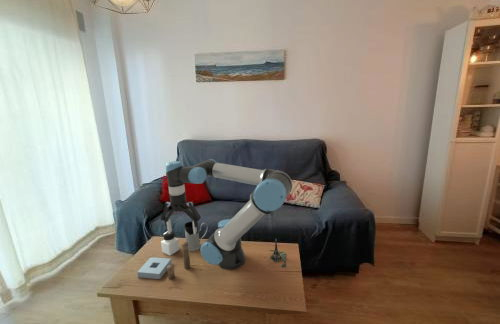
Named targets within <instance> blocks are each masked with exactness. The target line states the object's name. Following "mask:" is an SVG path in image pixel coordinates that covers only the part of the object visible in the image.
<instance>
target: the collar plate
mask: <svg viewBox="0 0 500 324" xmlns="http://www.w3.org/2000/svg"><path fill="white" fill-rule="evenodd" d="M168 265H173V264H172V259H171V258H167V257H166V258H165V257H149V258H148V260H147V261H146V262H145V263H143V265H142V266H141V267H140V269H138V270H137V271H136V272H137V277H138V278H145V279H153V280H154V279H155V280H161V279H162V277H163V276H164V275H165V273H166V272H167V266H168Z"/></svg>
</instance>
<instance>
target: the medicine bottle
mask: <svg viewBox="0 0 500 324" xmlns="http://www.w3.org/2000/svg"><path fill="white" fill-rule="evenodd" d="M162 235H163V240H161V241H160V244H161V246H160V247H161V252H162V253H163V254H166V255H168V256H172V255H174V254H175V253H176V252H178V251H180V242H179V239H178V238H176V237H175V235H176V234H175V232H174V231H173V230H172V231H171V233H170V234H168V230H167V231H166V232H164V233H163V234H162Z"/></svg>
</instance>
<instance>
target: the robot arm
mask: <svg viewBox="0 0 500 324" xmlns="http://www.w3.org/2000/svg"><path fill="white" fill-rule="evenodd" d="M165 173H166V180H167V186H168V194H169V201H166V202H165V203H164V208H163V212H162V214H161V217H160V220H161V221H164V224H165V228H166V229H167V231H168V234H170V233H171V231H173V229H172V223H171V219H170V217H171V216H172V215H173V213H174V212H180V213H181V212H183V213H185V214H186V215H187V216H188V217H189V218H190V219H191V221H193V222H192V224H193V232H194V234H196V232H197V226H198V227H199V223H198V222H199V221H200V219H201V218H202V217H201V214H200V213H199V212H198V210H197V208H196V207H195V205H194V201H190V202H189V201H187V195H186V187H185V183H186V184H195V185H197V184H200V185H201V184H203V183H204V182H205V181H206V179H207V177H210V178H211V177H213V178H216V179H217V178H218V179H223V180H229V181H232V182H237V183H242V184H248V185H254V186H256V187H255V189H253V191H252V192H251V193H250V195H249V200H248V201H247V202H246V204H245V205H244V206H243V207H241V209H240V210H239V211H237V213H236V214H235V215H234V216H233V217H232V218H231V219H230V218H228V219H223V220H219V222H218V223H217V229H216V230H215V231H214V232H212V234H211V235H210V236H209V237H208V238H207V239H206V240H205V241H203V243H202V244H201V247H200V248H199V250H200V254H201V257H202V258H203V260H204V261H205V262H207V263H208V264H210V265H213V266H217V265H218V266H219V267H220V268H222V269H224V270H236V269H239V268H241V267H242V266H243V265H244V264H245V263H246V254H245V251H244V249H243V247H242V237H243V236H244V235H245V234H246V233H247V232H248V231H249V230H250V229H251V228H252V227H253V226H255V224H256V223H257V222H259V220H261V218H263V216H264V215H268V216H269V215H271V214H272V213H273V212H274V211H276V210H278V209H280V208H281V207H282V206H283V204H284V203H285V202H286V199H287V198H288V196H289V195H290V193H291V192H292V191H293V181H292V179H291V177H290V175H288V173H286V172H284V171H282V170H279V169H278V170H277V169H271V168H265V169H258V168H250V167H246V166H245V167H244V166H241V165H234V164H227V163H222V162H218V161H216V160H215V159H210V158H209V159H207V160H204V161H202V162H200V163H198V164H194V165H192V166H183V163H182V162H181V161H179V160H174V161H170V162H166V164H165ZM170 207H171V210H170V211H169V213H168V210H169V208H170ZM167 213H168V214H167Z"/></svg>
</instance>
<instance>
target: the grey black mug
mask: <svg viewBox="0 0 500 324" xmlns="http://www.w3.org/2000/svg"><path fill="white" fill-rule="evenodd" d="M192 222H193V220H191V221H188V222H185V223H184V234H185V242H187V243H188V249H189V252H195V251H198V250H200V249H201V246H202V244H201V241H202V239H203V238H204V237H205V236H206V235H207V233H208V229H209V226H208V224H207V223H206V222H202V223H201V225H200V229H199V225H198V226H197V232H196V234H194V232H193V224H192ZM204 224H205V225H206V231H205V232H204V234H203V235H202V236H201V237H200V233H199V232H200V231H202V226H203V225H204Z"/></svg>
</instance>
